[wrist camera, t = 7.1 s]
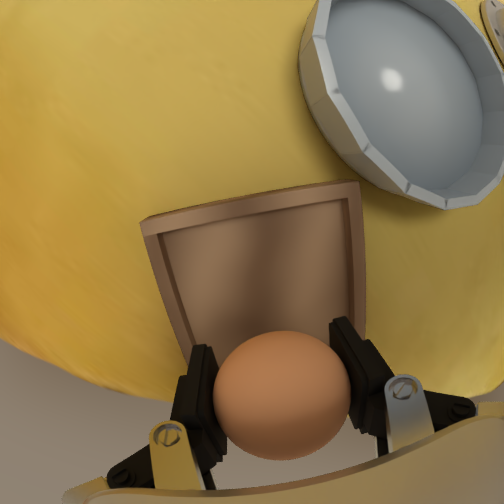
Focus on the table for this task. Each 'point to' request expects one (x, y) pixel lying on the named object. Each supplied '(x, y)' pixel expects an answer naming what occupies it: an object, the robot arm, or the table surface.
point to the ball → (282, 395)
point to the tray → (261, 265)
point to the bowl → (407, 96)
